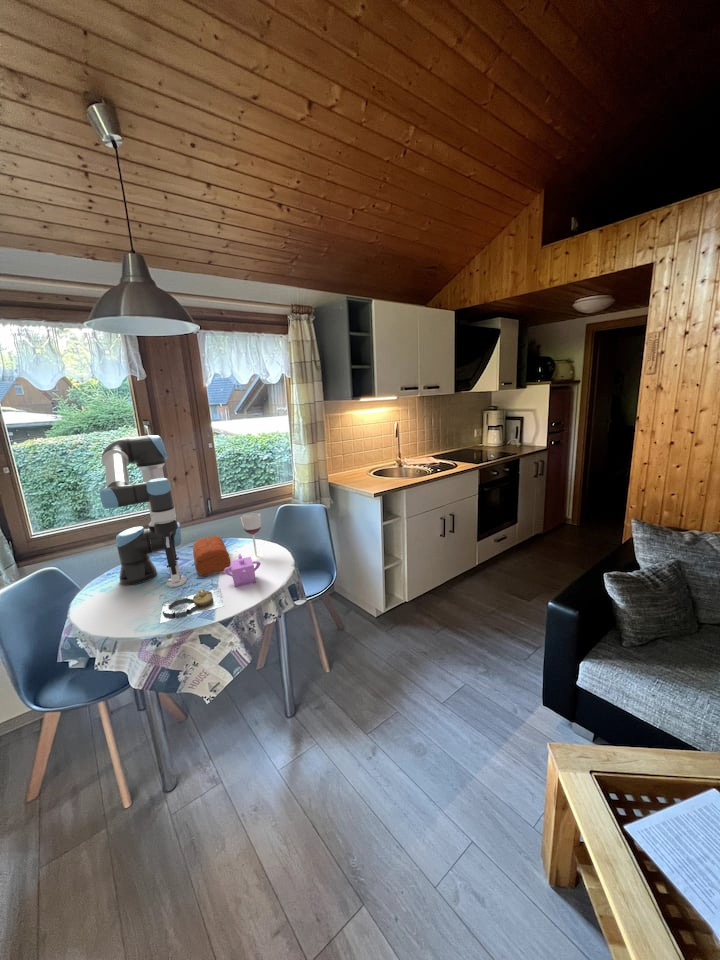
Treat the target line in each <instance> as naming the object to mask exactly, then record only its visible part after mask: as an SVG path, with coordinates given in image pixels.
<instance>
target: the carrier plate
mask: <svg viewBox="0 0 720 960" xmlns="http://www.w3.org/2000/svg"><path fill="white" fill-rule="evenodd" d="M208 591H209V592H211V593H212V596H213V601H212V602H211V603H210V604H208V605H205V606H198V605H197V604H195V603H194V601H193V597H194V596H195V595H196V594H197V593H196V594H191V595H188V596H187V595H183V596H180V597H176V598H175V599H172V600H171V599H170V600H168V601H167V600H166V601H163V602H162V603H161V612H160V620H159V624H162V623H166V622H170V621H171V622H172V621H173V620H177V619H182V618H186V617H189V616H193V615H197V614H200V613H204V612H207V611H208V612H209V611H211V610H212V611H213V610H216V609H219V608H223V607H225V604H224V599H223V593H222V588H216V589H211V590H208Z"/></svg>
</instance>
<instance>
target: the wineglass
mask: <svg viewBox="0 0 720 960" xmlns="http://www.w3.org/2000/svg"><path fill="white" fill-rule="evenodd" d="M240 519H241V520H240V521H241V524H242V528H243V530H244V531H245V533H247V534H250V535H252V541H253V548H254V554H252V555H250V556H249V557H251V559H252V562H253V561H261V560H263V559H264V558H265V557H266V556H265V554H264V553H263V554H262V553H258V552H257V546H256V540H255V539H256V538H255V534H257V533H258V532H259V531H260V530H261V527H262V515H261V513H259V512H251V513H250V512H249V513H245V514H243V515H241V516H240Z"/></svg>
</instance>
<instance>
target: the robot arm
mask: <svg viewBox="0 0 720 960" xmlns="http://www.w3.org/2000/svg"><path fill="white" fill-rule="evenodd" d="M168 458H169V457H168V453H167V450H166V446H165V444H164V442H163V439H162V437H161V436H160V435H156V434H155V435H153V434H152V435H151V434H150V435H141V436H133V437H122V438H119V439H116V440H114V441H113V442H111V443H110V444H108V445H107V446H106V448H105V449H104V450H103V452H102V454H101V463H102V465H103V466H104V467H105V470H104V471H105V480H106V482H105V483H106V487H105V488H104V487H103V488H102V489H100V490H99V497H100V502H101V505H102V508H104V509H105V510H107V509H108V510H109V509H117V508H122V507H127V506H131V505H132V506H133V505H138V504H144V503H147V505H148V510H149V515H150V519H151V521H150V522H149V523H148V528H144V527H143V526H142V525H141V526H133V527H131V528H127V529H125V530H123V531H121V532H119V533H118V534H117V535H116V537H115V543H116V545H115V546H116V548H117V552H118V557H119V561H120V570H119V571H120V572H119V582H120V584H121V585H124V586H133V585H138V584H142V583H144V582H147V581H149V580H152V579H153V578H154V577H156V576H157V575H158V572H157V567H156V566H155V565H154V563H153V561H152V560H151V558H150V554H154V553H157V552H158V553H159V552H161V551H165V556H166V561H167V565H166V568H168V569H169V574H170V578H171V580H172V583H174V582H178V581H180V577H179V572H178V567H177V563H176V561H178V560H180V558H179V556H178V554H177V550H176V548H177V547H180V545H181V544H182V530H181V524H180V522H179V521H177V519H176V518H177V514H176V509H175V508H176V507H175V505H174V500H173V493H172V485H171V483H170V480H169V478H167V477H165V475H164V470H163V467H164V466H165V465H166V461H165V460H168ZM133 464H136V465H135V466H136V468H137V469H139V470H140V471H141V475H142V480H143V482H138V483H130V478H129V472H128V465H133Z"/></svg>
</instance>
